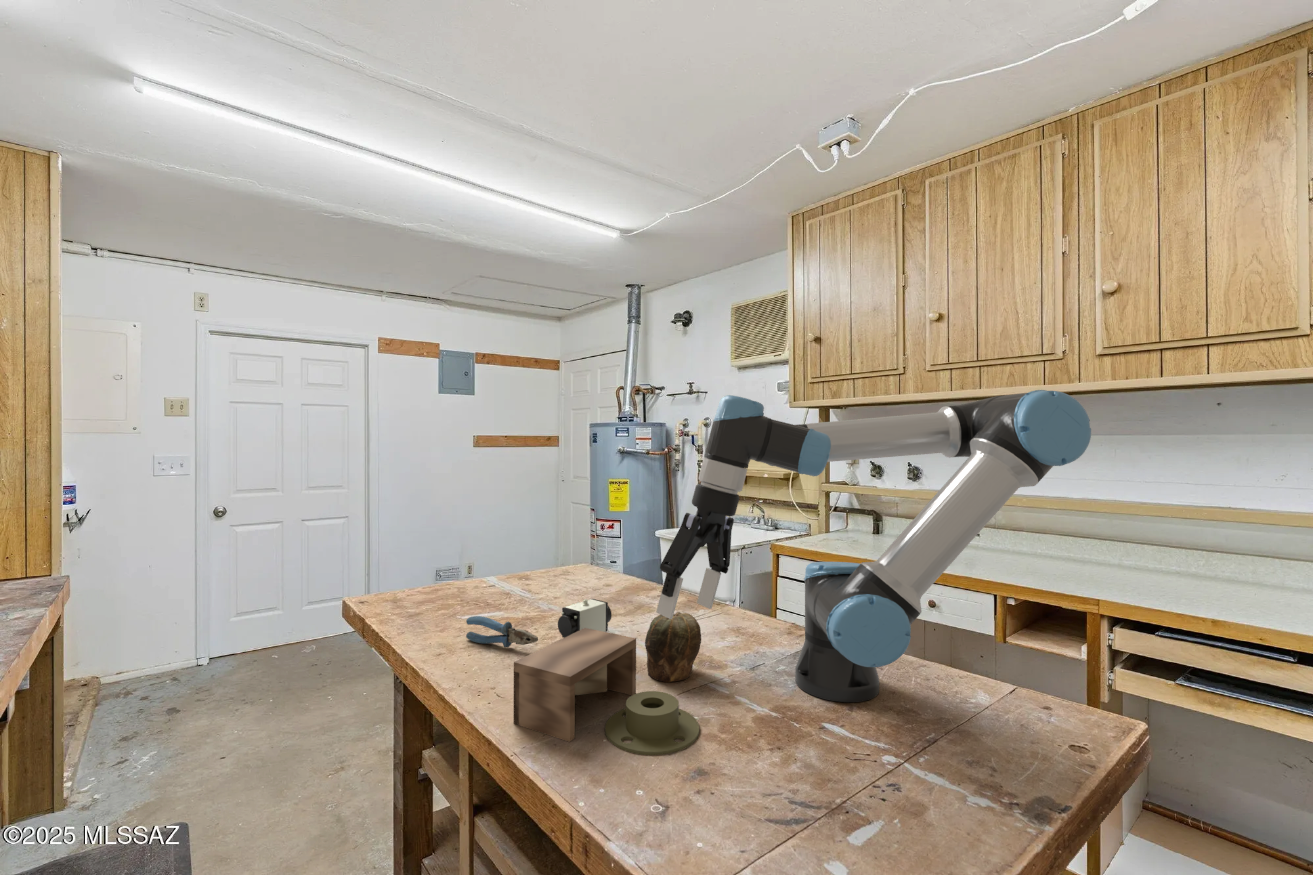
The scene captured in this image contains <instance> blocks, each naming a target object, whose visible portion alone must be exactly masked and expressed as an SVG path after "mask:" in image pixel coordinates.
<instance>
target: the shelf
mask: <svg viewBox="0 0 1313 875" xmlns="http://www.w3.org/2000/svg"><path fill="white" fill-rule="evenodd" d="M608 690H610V691H614V692H618V693H621V694H625V695H629V696H632V695H634V694H637V638H636V637H632V636H626V635H622V634H616V633H611V632H608V631H606V632H603V631H598V630H593V629H588V628H584V629H581V630H579V631H577V632H575V633H573V634H571V635H569V636H567V637H565V638H563V637H562V638H561V639H558V640H557V641H554V642H552V643H551V644H549V645H546V646H545V647H542V648H540V649H538V650H536V651H534V652H532V653H530V654H528V655H526V656H523V657H522V658H519V659H517V660H515V661H513V724H514V725H517V726H520V727H523V728H526V729H530V730H532V731H536V732H539V733H541V734H544V735H548V736H550V737H554V738H557V739H559V740H563V741H565V742H569V743H571V742H572V741H574V739H575V738H576V737H575V732H576V731H575V730H576V729H575V727H576V726H575V725H576V724H575V723H576V721H575V720H576V719H575V718H576V717H575V716H576V714H575V713H576V711H575V709H576V708H575V707H576V706H575V704H576V697H575V696H579V695H587V694H597V693H606V692H608Z"/></svg>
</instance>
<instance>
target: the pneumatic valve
mask: <svg viewBox="0 0 1313 875" xmlns="http://www.w3.org/2000/svg"><path fill="white" fill-rule="evenodd" d="M561 610H562V612H561V616H560V617H559V618H558V621H557V628H558V632H559V633H560V635H561V636H562V639H563V638H565V637H567V636H569V635H571V634H573V633H575V632H577V631H579V630H581V629H584V628H588V629H593V630H598V631H603V632H608V631H609V630H608V629H609V622H611V620H612V617H613V616H612V609H611V608H610V606H609V603H608V601H604V600H600V599H595V598H590V599H587V598H586V599H583V601H581V602H579V601H578V602H576V603H572V604H571V605H566V606H563V607H562V609H561Z"/></svg>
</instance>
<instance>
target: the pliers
mask: <svg viewBox="0 0 1313 875" xmlns="http://www.w3.org/2000/svg"><path fill="white" fill-rule="evenodd" d="M465 622H466V624H467V625H468V626H469V625H474V626H481V627H485V628H488V629H491V630H493V631H495V632H498V633H500V634H494V635H487V634H486V635H485V634H480V633H477V632H474V631H468V632H467V633H466V636H465V637H466V639H468V640H470V641H471V642H474V643H477V644H478V643H479V644H501V643H502V644H503V647H504V648H507V649H508V648H509V647H511V645H512V644H513V643H515V644H516V645H520V646H521V645H522V646H524V645H530V644H532V643H536V642H538V641H539V637H538V636H537V635H535V634H533V633H531V632H529V631H528V630H526V629H525V630H524V629H522V628H521V629H520V628H518V629H516V628H514V627H513V624H512V623H511V622H510V621H506V622H505V623H504V624H503V623H501V622H498V621H497V620H494V619H492V618H489V617H487V616H482V615H481V616H480V615H474V616H472V615H471V616H470V617H467V619H466V620H465Z"/></svg>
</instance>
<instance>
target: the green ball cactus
mask: <svg viewBox="0 0 1313 875" xmlns="http://www.w3.org/2000/svg"><path fill="white" fill-rule="evenodd" d="M701 643H702V632H701V626H700V624H699V621H697V619H696V618H695V617H694V616H693V615H692V614H690V613H687V612H683V613H682V612H681V611H677V612H675V613H674V615H673V618H672V619H669V618H667V617H665V616H663V615H661V614H658V615H656V616H655V617H654V618H653V619H652V620H651V622H650V624H649V627H648V629H647V632H646V635H645V641H644V647H645V651H646V658H647V659H646V667H647V676H648V677H650V678H652V679H655V680H656V681H659V682H663V683H672V682H677V681H678V682H680V681H684V680H686V679H689V677H690V676H691V674H692V672H693V667H694V666H693V665H694V663H695V661H696V659H697V656H698V654H699V652H700V649H701Z"/></svg>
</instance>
